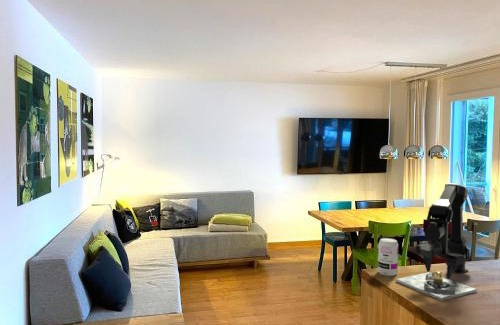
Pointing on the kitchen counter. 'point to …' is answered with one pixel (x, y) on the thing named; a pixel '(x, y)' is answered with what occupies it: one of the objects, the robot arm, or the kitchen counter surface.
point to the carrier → (422, 285)
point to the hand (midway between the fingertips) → (438, 275)
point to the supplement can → (388, 257)
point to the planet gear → (438, 280)
